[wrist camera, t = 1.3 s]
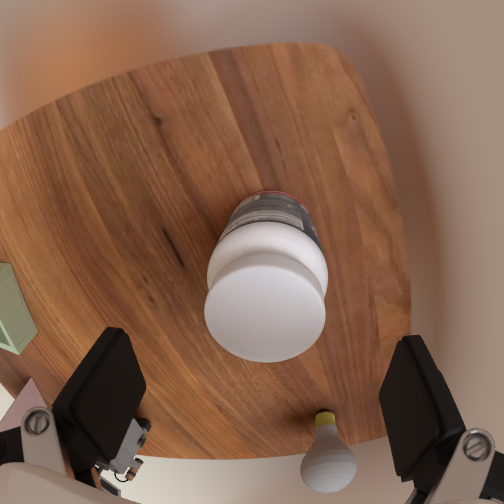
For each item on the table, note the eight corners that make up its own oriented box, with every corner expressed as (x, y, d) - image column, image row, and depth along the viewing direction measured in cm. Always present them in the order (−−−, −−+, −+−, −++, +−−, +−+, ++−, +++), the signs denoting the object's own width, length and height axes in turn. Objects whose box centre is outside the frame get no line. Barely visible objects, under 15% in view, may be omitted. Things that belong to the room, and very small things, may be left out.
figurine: (67, 369, 30) (14, 454, 17) (140, 384, 29) (92, 496, 15) (94, 411, 34) (56, 488, 20) (162, 426, 33) (131, 520, 19)
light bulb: (343, 423, 29) (350, 496, 20) (297, 424, 30) (296, 500, 20) (354, 397, 27) (366, 479, 18) (303, 398, 27) (304, 484, 18)
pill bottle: (309, 269, 21) (324, 375, 12) (230, 264, 21) (196, 365, 12) (317, 190, 18) (351, 259, 10) (229, 186, 19) (183, 248, 10)
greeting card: (27, 373, 33) (-16, 437, 20) (61, 403, 35) (24, 470, 22) (19, 389, 37) (-16, 442, 24) (48, 414, 39) (17, 469, 26)
